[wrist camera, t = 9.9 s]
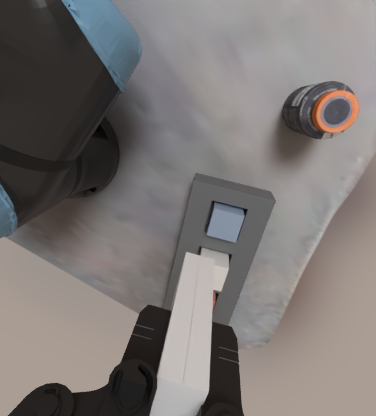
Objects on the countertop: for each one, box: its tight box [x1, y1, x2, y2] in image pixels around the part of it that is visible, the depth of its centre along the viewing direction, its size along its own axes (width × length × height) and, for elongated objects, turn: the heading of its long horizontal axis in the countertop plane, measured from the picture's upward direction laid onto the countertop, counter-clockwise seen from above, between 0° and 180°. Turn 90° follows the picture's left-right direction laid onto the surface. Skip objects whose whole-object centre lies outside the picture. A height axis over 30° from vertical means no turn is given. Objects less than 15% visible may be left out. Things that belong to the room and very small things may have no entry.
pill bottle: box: [283, 81, 359, 139], centre depth 31 cm, size 6×6×11 cm
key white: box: [200, 247, 229, 291], centre depth 41 cm, size 4×4×4 cm
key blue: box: [207, 201, 245, 243], centre depth 40 cm, size 4×4×4 cm
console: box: [163, 173, 276, 326], centre depth 44 cm, size 12×26×4 cm, turn 168°
